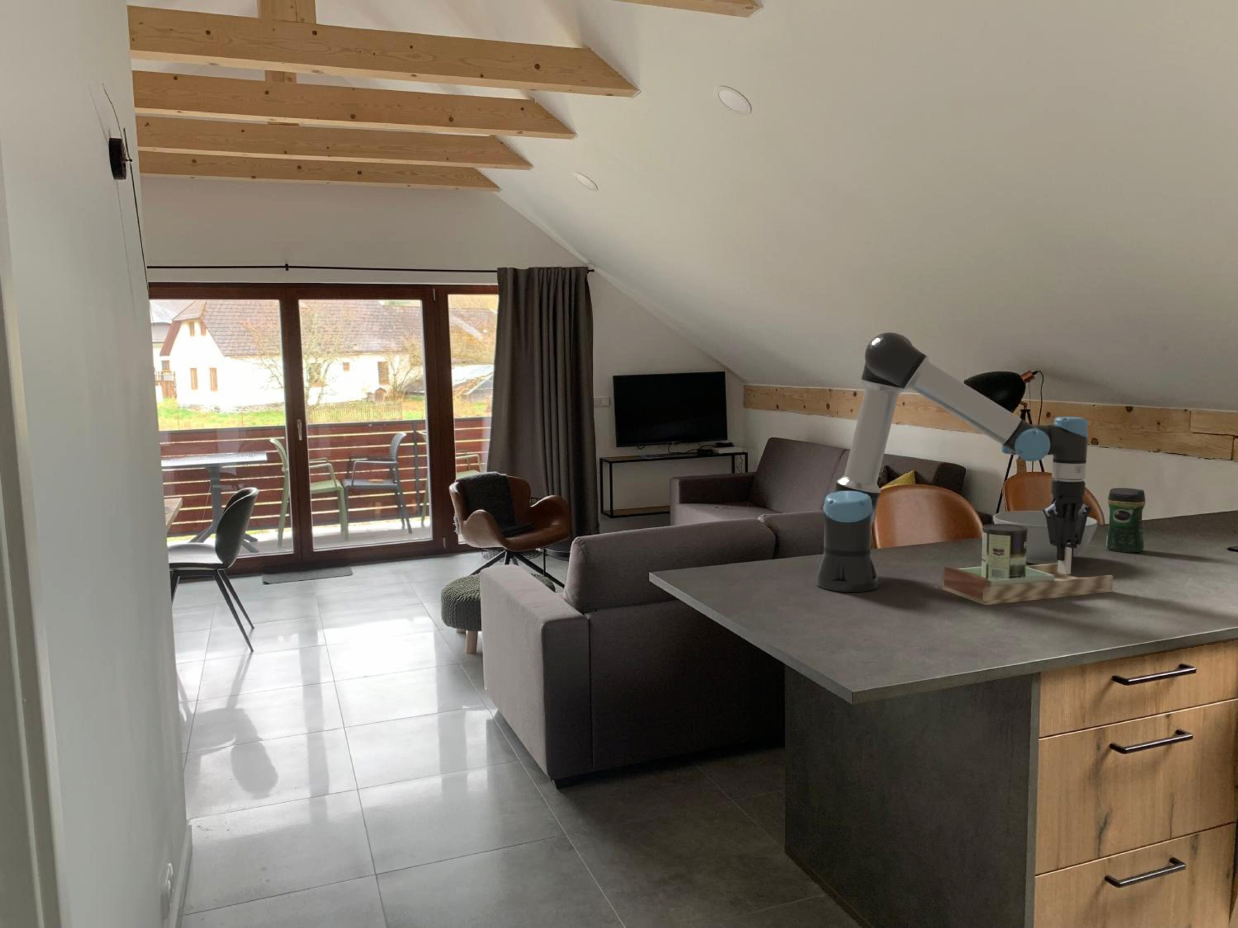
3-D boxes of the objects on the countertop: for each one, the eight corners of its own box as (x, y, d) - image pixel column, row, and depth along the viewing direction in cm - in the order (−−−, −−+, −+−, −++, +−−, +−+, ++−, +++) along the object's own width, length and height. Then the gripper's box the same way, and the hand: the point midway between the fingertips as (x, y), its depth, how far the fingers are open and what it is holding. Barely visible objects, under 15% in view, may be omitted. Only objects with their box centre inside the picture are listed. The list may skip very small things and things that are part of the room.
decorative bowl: (1045, 548, 279) (1046, 508, 278) (1118, 566, 254) (1120, 522, 252) (971, 554, 270) (972, 514, 269) (1039, 574, 245) (1041, 529, 244)
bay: (984, 605, 216) (985, 579, 215) (941, 589, 231) (942, 565, 230) (1112, 591, 226) (1113, 567, 226) (1063, 577, 242) (1064, 554, 241)
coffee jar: (1146, 550, 274) (1149, 488, 272) (1138, 554, 268) (1141, 491, 266) (1110, 546, 280) (1113, 485, 278) (1102, 550, 275) (1105, 488, 273)
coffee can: (1020, 579, 230) (1022, 523, 229) (1030, 589, 220) (1032, 531, 219) (976, 578, 232) (978, 522, 231) (984, 588, 222) (986, 530, 221)
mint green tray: (991, 597, 217) (991, 581, 217) (954, 584, 230) (954, 568, 230) (1053, 591, 223) (1054, 575, 222) (1014, 578, 235) (1014, 563, 235)
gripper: (1058, 482, 223) (1053, 578, 226) (1101, 480, 227) (1096, 574, 230) (1035, 478, 231) (1031, 571, 233) (1078, 476, 234) (1073, 567, 237)
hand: (1064, 572), depth 231 cm, fingers closed
